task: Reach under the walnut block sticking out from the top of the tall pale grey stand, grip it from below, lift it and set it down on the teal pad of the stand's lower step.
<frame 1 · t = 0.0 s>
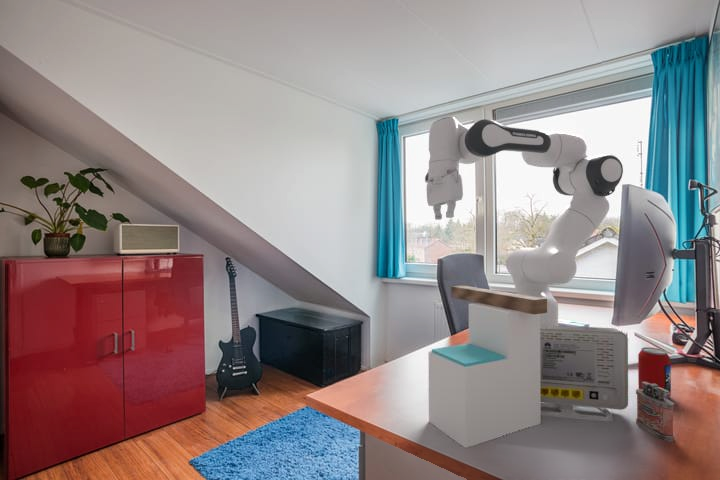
hand: (443, 218, 111), 48 cm above the table, tool pointing down, fingers open, 8 cm apart
network device: (565, 410, 90), on the table
stepped stand: (484, 422, 84), on the table
walnut block: (493, 304, 89), point 26 cm above the table, touching stepped stand
light bulb box: (571, 351, 137), on the table
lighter: (654, 431, 80), on the table
beverage can: (654, 396, 98), on the table
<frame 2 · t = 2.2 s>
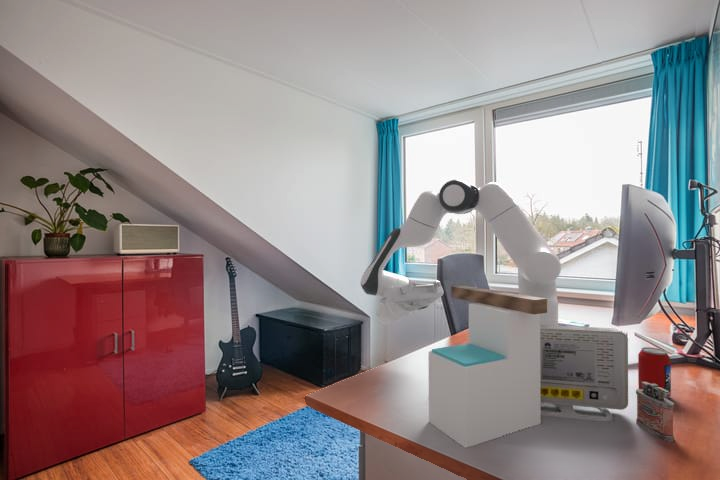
hand: (426, 283, 113), 28 cm above the table, tool pointing upward, fingers open, 8 cm apart
nothing on the table moved.
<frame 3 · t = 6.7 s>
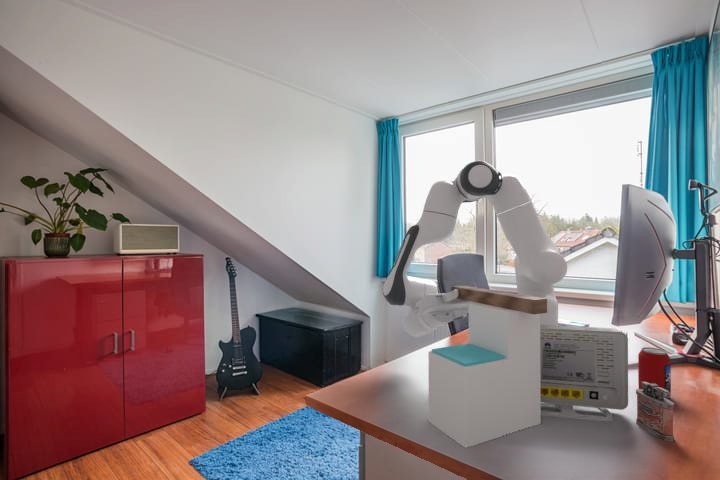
hand: (466, 291, 97), 28 cm above the table, tool pointing upward, fingers closed on walnut block, 4 cm apart
walnut block: (493, 304, 89), point 26 cm above the table, touching gripper, stepped stand
everything else where it was.
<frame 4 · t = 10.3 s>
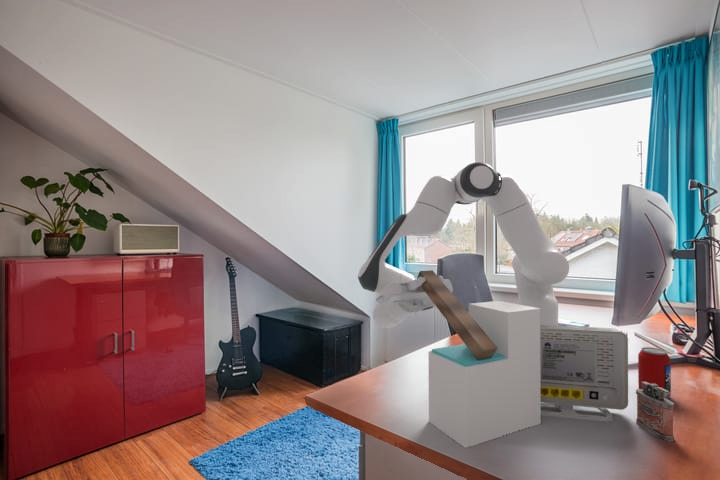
hand: (432, 278, 92), 32 cm above the table, tool pointing upward, fingers closed on walnut block, 4 cm apart
walnut block: (450, 314, 87), point 24 cm above the table, tilted 34°, touching gripper, stepped stand
everything else where it was.
when the fingers open (19 cm above the table, at t = 13.8 s): walnut block stays where it is, resting on stepped stand.
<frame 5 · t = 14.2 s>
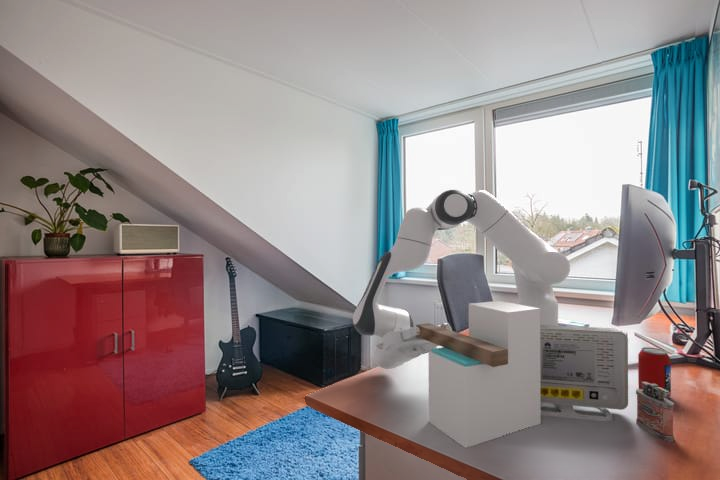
hand: (432, 327, 92), 19 cm above the table, tool pointing upward, fingers open, 8 cm apart
walnut block: (456, 348, 84), point 17 cm above the table, touching stepped stand
everything else where it was.
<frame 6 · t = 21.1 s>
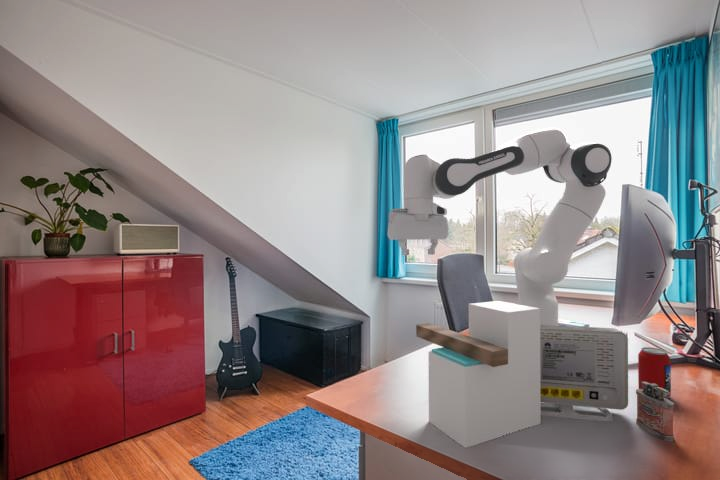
hand: (418, 254, 112), 37 cm above the table, tool pointing down, fingers open, 8 cm apart
nothing on the table moved.
at the end: walnut block inside the target area (0.6 cm from its centre), point 16.6 cm above the table; walnut block tilted 0°; the gripper is holding nothing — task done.
